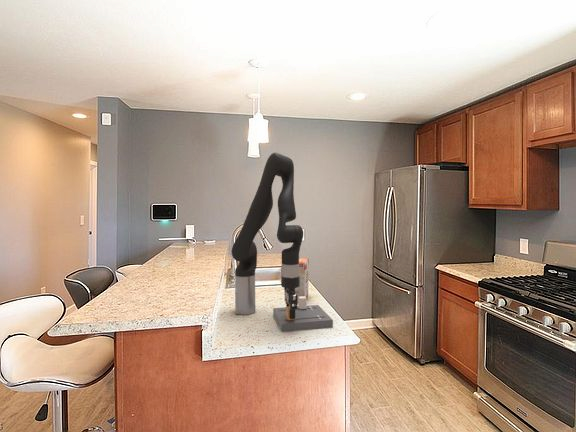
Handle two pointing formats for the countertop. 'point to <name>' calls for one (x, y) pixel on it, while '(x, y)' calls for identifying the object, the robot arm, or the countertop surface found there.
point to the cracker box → (303, 278)
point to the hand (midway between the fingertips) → (290, 315)
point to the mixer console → (303, 318)
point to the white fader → (302, 302)
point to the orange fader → (288, 313)
